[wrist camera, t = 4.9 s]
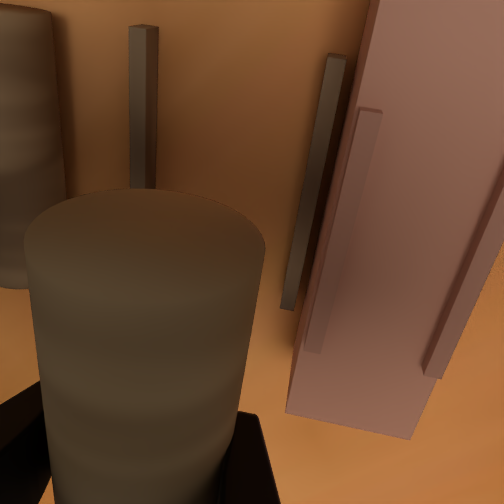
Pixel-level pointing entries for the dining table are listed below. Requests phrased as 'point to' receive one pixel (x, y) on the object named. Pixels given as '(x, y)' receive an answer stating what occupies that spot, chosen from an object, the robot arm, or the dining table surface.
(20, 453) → the robot arm
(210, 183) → the dining table surface
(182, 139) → the dining table surface
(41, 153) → the roller bed
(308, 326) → the stop beam
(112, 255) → the roller
